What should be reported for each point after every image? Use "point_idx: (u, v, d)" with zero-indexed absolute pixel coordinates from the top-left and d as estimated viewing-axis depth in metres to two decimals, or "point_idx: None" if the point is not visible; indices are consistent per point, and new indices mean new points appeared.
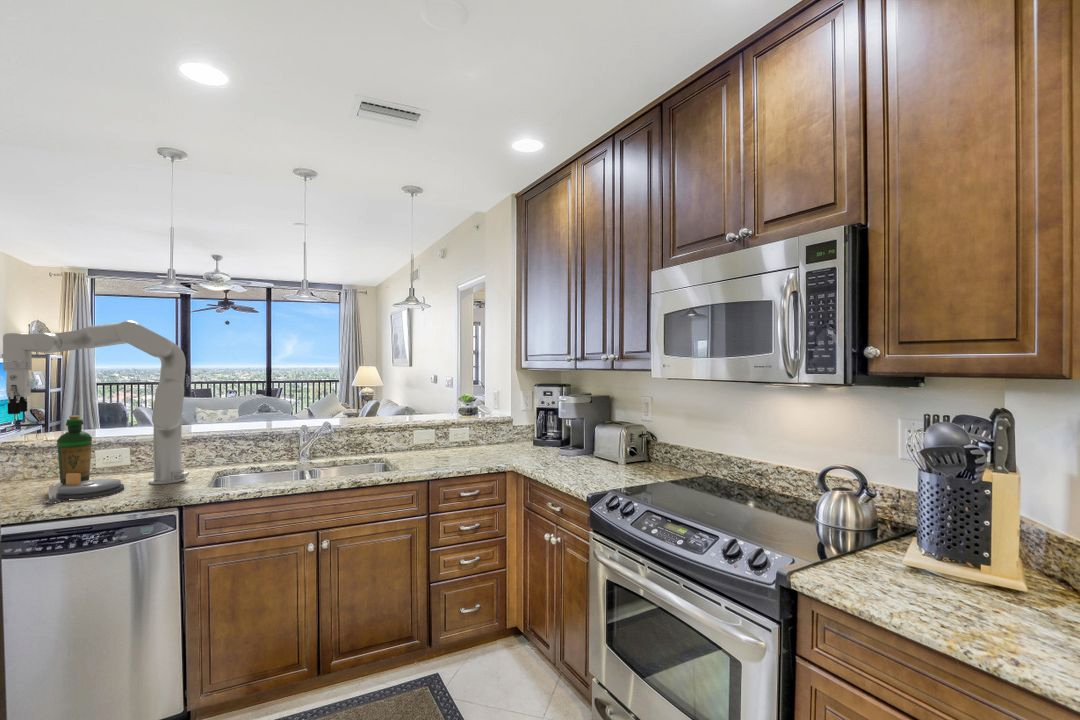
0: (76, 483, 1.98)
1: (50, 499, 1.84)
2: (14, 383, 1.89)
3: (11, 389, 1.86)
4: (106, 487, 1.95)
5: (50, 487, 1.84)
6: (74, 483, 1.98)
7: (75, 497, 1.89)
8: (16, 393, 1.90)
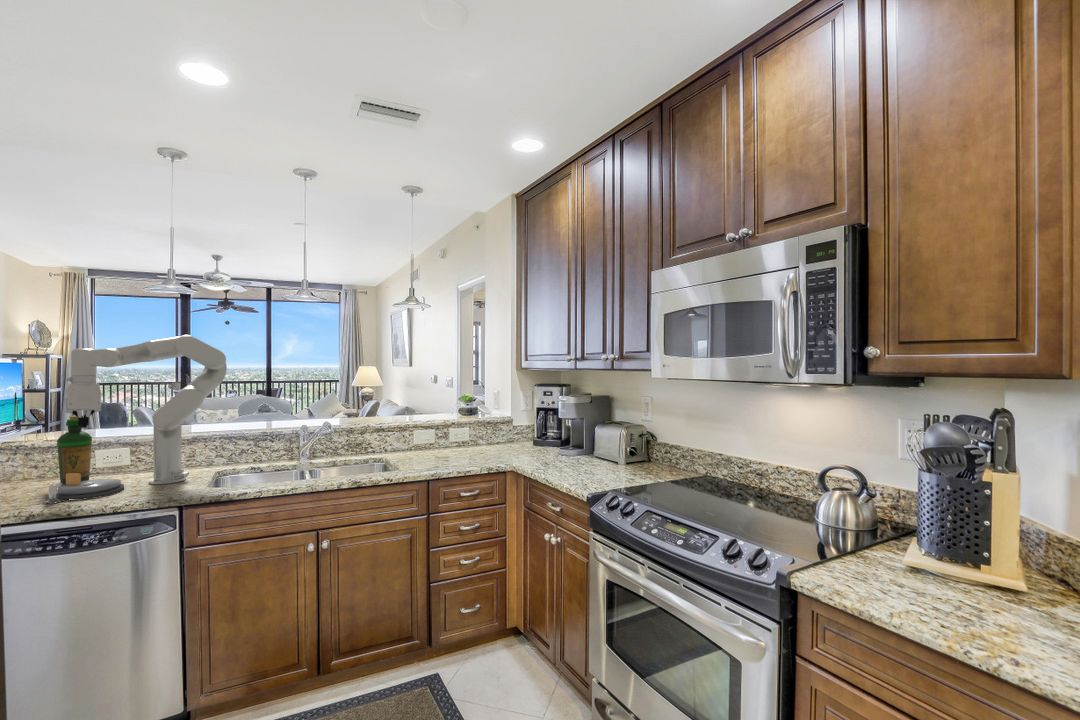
0: (76, 483, 1.98)
1: (50, 499, 1.84)
2: (66, 396, 1.99)
3: None
4: (106, 487, 1.95)
5: (50, 487, 1.84)
6: (74, 483, 1.98)
7: (75, 497, 1.89)
8: None
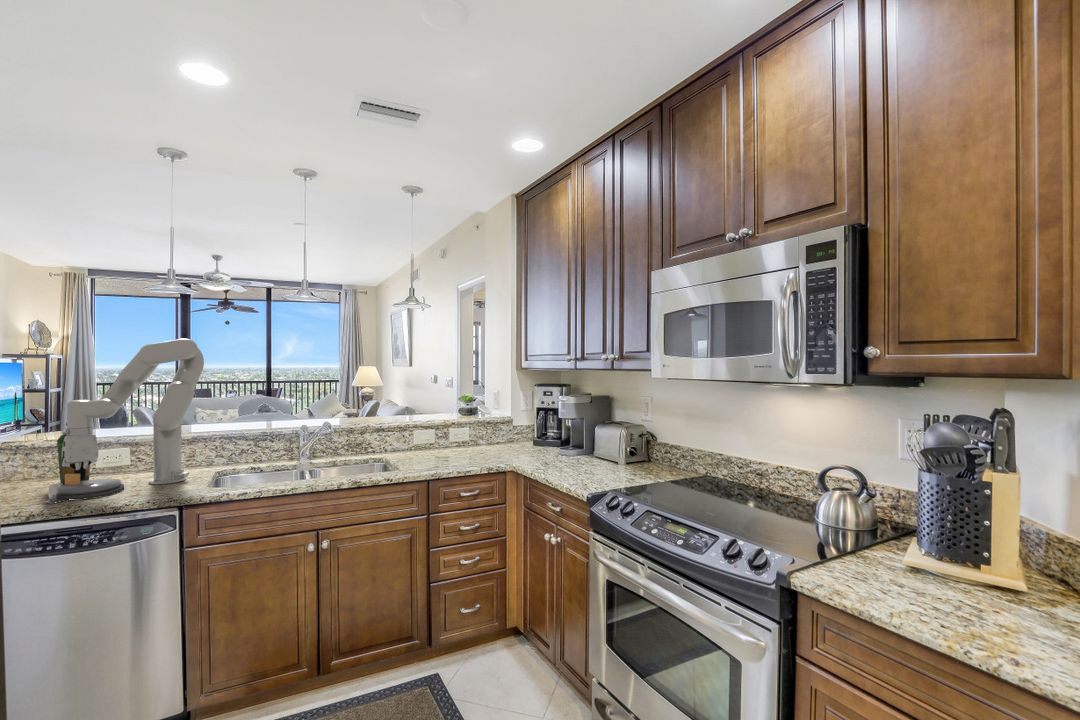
0: (75, 483, 1.98)
1: (50, 499, 1.84)
2: (64, 449, 1.97)
3: (63, 461, 1.97)
4: (107, 486, 1.96)
5: (50, 487, 1.84)
6: (73, 483, 1.98)
7: (75, 497, 1.89)
8: None
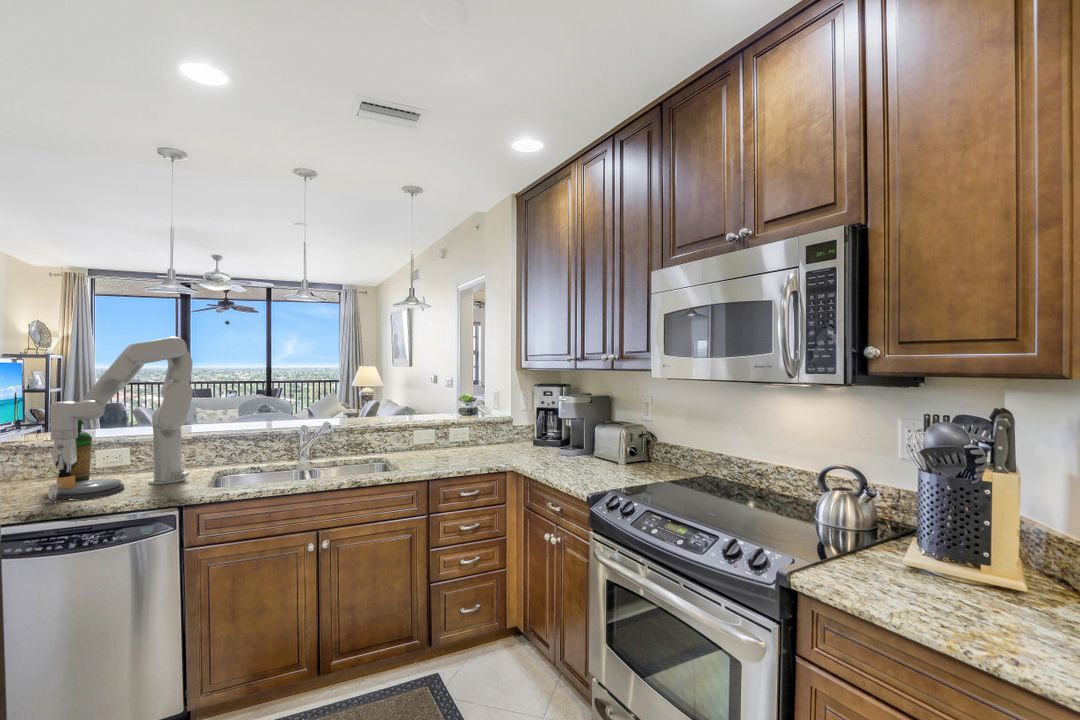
0: (73, 485, 1.94)
1: (50, 499, 1.84)
2: (61, 452, 1.91)
3: (60, 465, 1.91)
4: (120, 481, 2.05)
5: (50, 487, 1.84)
6: (70, 486, 1.94)
7: (75, 497, 1.89)
8: None
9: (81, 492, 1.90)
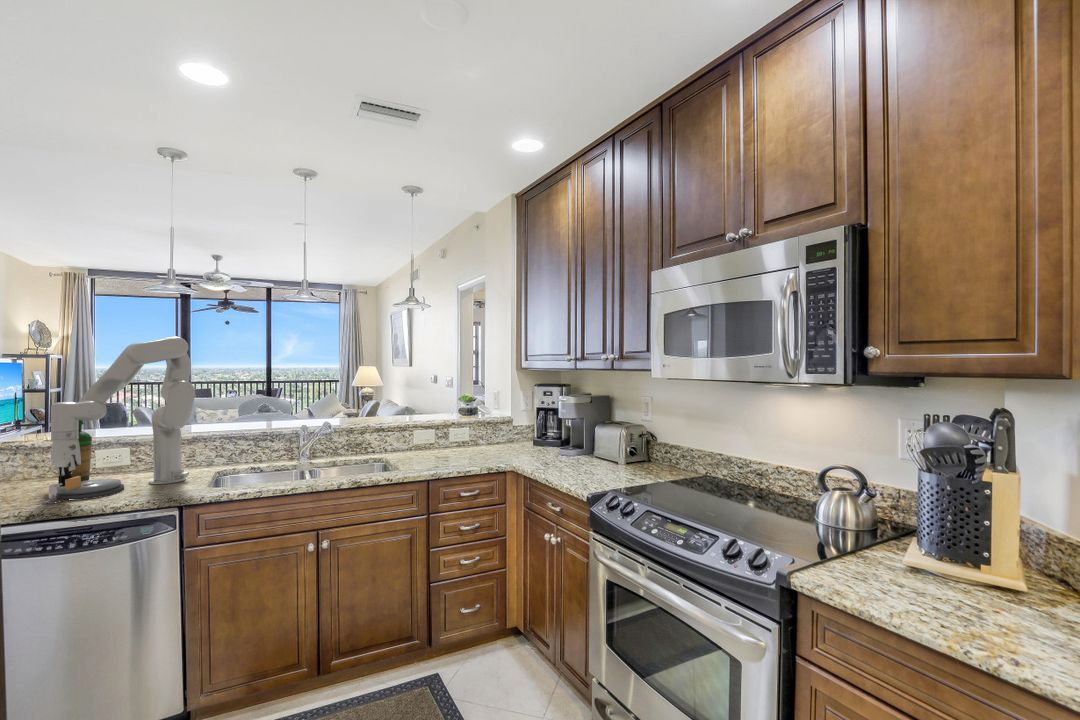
0: (79, 486, 1.94)
1: (50, 499, 1.84)
2: (73, 453, 1.90)
3: (72, 465, 1.90)
4: None
5: (50, 487, 1.84)
6: (77, 486, 1.93)
7: (75, 497, 1.89)
8: None
9: (102, 489, 1.94)
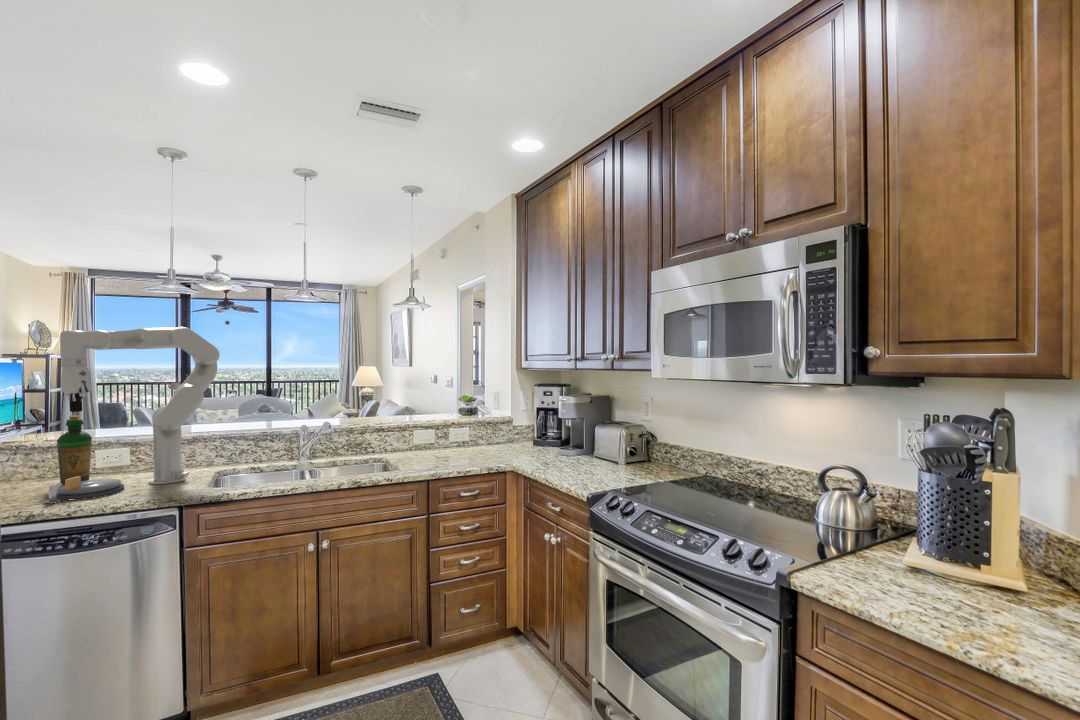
0: (79, 486, 1.94)
1: (50, 499, 1.84)
2: (83, 379, 1.96)
3: (83, 391, 1.96)
4: None
5: (50, 487, 1.84)
6: (77, 486, 1.93)
7: (75, 497, 1.89)
8: (79, 390, 1.98)
9: (102, 489, 1.94)
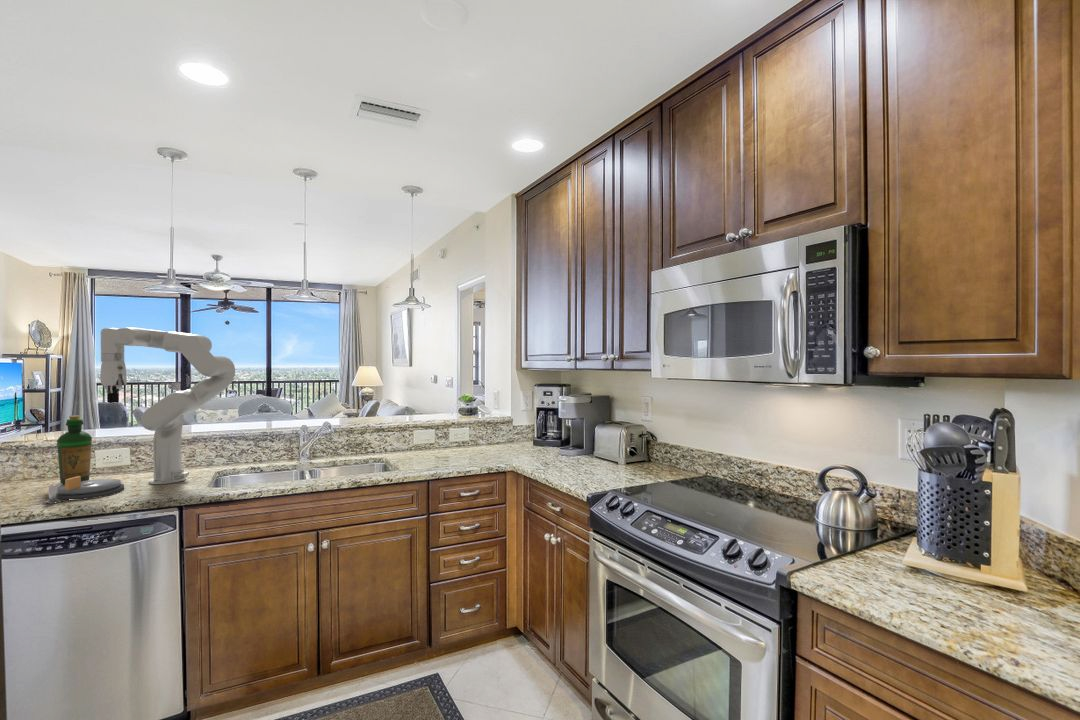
0: (79, 486, 1.94)
1: (50, 499, 1.84)
2: (120, 373, 2.13)
3: (119, 384, 2.13)
4: None
5: (50, 487, 1.84)
6: (77, 486, 1.93)
7: (75, 497, 1.89)
8: None
9: (102, 489, 1.94)
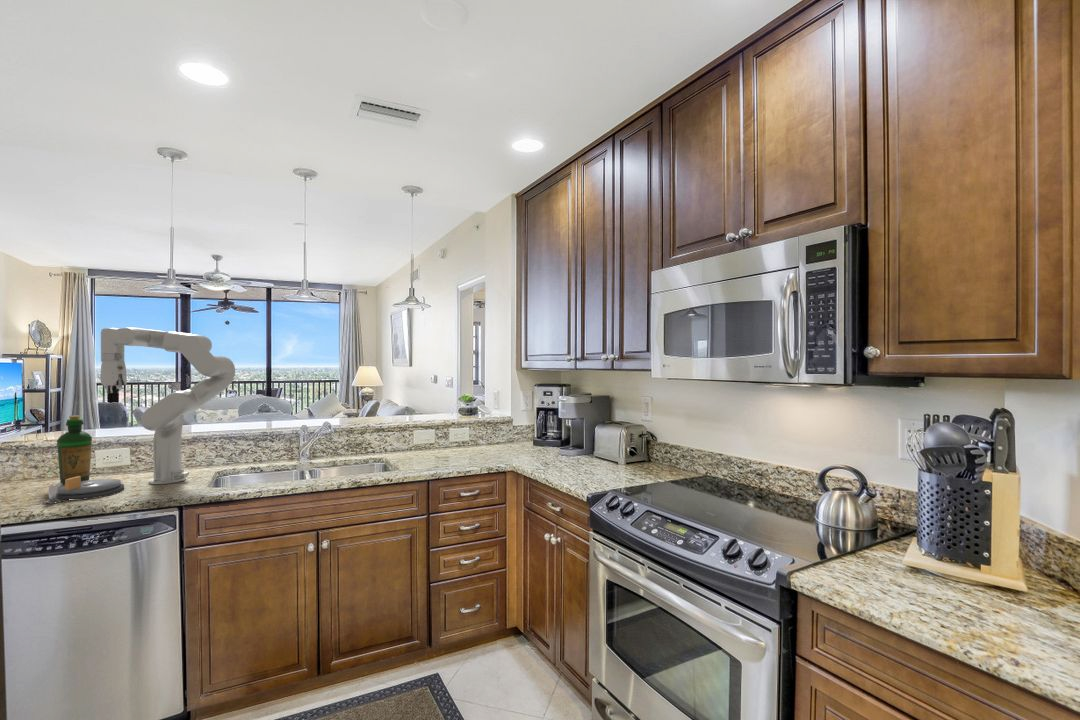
0: (79, 486, 1.94)
1: (50, 499, 1.84)
2: (120, 373, 2.13)
3: (119, 384, 2.13)
4: None
5: (50, 487, 1.84)
6: (77, 486, 1.93)
7: (75, 497, 1.89)
8: None
9: (102, 489, 1.94)
